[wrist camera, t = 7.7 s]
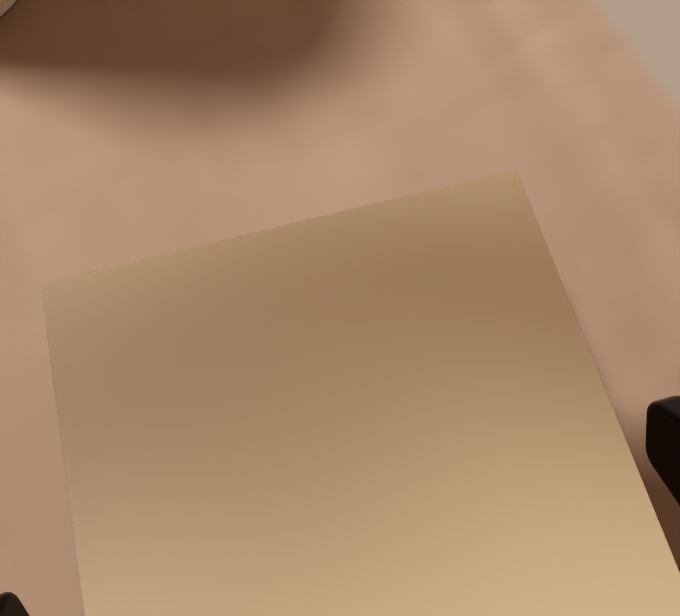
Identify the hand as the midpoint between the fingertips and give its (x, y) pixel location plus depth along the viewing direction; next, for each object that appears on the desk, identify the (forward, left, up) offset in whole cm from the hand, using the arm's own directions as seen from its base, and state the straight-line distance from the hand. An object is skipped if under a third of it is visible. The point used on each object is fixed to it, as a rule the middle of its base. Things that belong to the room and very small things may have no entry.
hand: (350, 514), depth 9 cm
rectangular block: (0, 0, -8) cm, 8 cm away
